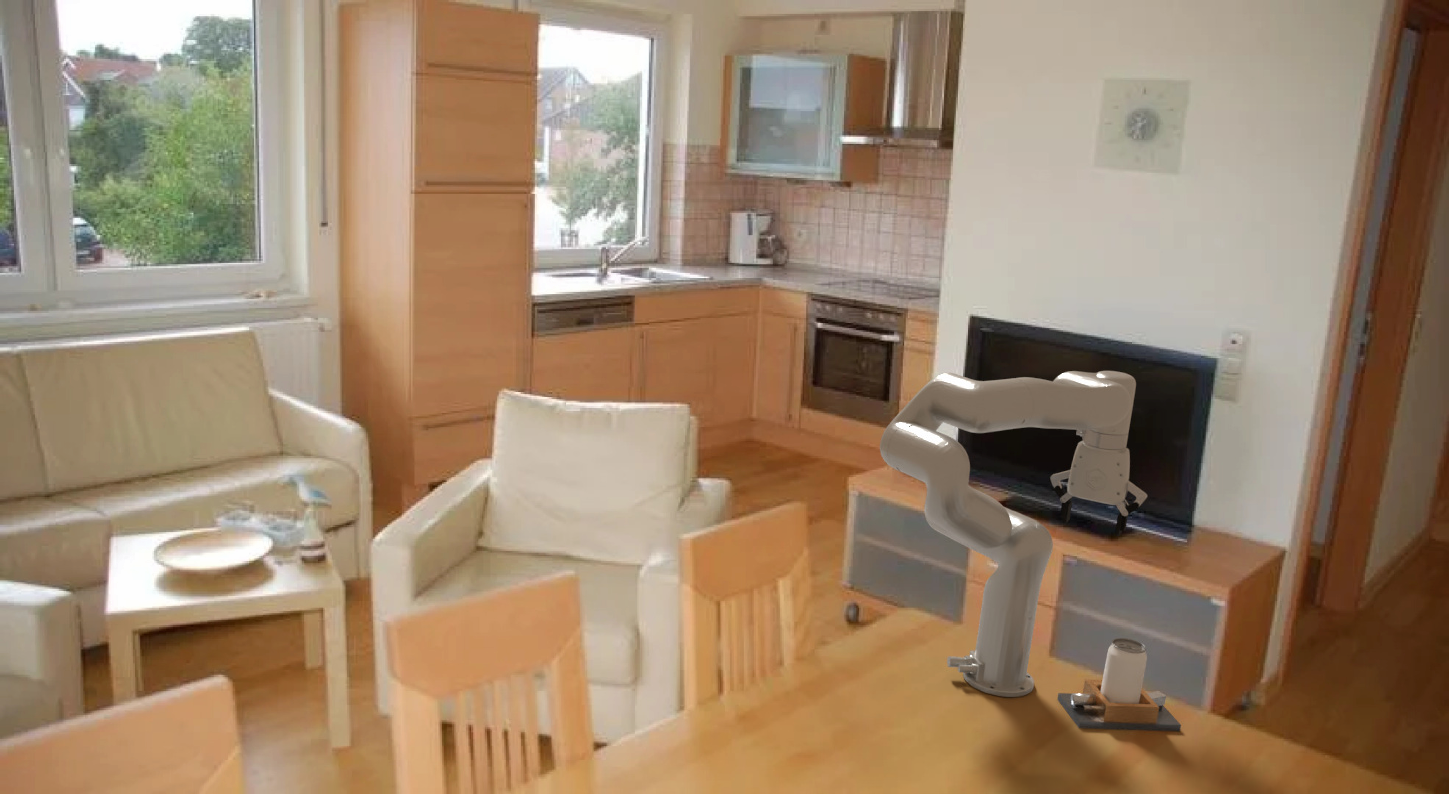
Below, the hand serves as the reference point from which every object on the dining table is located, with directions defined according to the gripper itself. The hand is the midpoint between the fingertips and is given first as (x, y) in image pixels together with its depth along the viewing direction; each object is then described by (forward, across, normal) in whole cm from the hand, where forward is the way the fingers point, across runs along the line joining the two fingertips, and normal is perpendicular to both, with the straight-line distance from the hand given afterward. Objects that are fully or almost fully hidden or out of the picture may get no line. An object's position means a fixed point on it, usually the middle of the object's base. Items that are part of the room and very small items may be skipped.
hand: (1091, 527), depth 217 cm
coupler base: (+27, +12, -16) cm, 34 cm away
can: (+26, +12, -16) cm, 33 cm away
